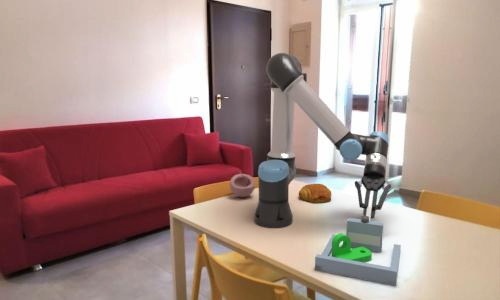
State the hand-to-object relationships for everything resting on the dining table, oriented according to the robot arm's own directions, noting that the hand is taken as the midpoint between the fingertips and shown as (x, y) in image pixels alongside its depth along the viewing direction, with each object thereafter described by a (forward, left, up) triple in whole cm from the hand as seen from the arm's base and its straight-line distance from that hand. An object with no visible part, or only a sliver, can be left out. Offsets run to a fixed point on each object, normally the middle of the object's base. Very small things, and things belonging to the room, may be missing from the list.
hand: (367, 226), depth 127 cm
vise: (0, -15, -5) cm, 16 cm away
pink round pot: (-61, +29, -5) cm, 68 cm away
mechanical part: (-2, -16, -6) cm, 17 cm away
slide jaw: (0, -7, -5) cm, 9 cm away
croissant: (-28, +39, -5) cm, 48 cm away
